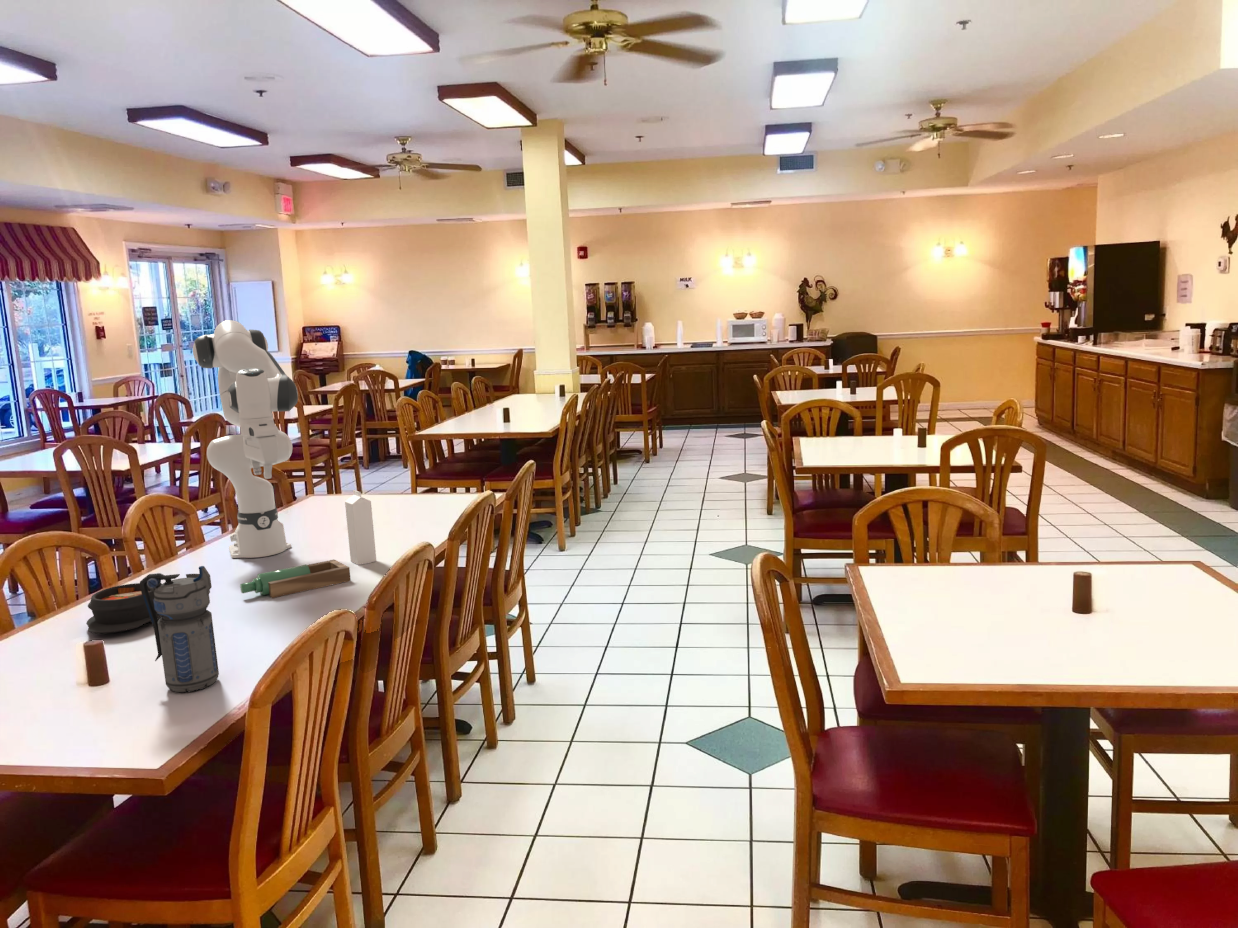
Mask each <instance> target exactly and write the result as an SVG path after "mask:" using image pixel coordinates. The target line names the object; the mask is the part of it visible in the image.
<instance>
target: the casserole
mask: <svg viewBox="0 0 1238 928" xmlns="http://www.w3.org/2000/svg"><path fill="white" fill-rule="evenodd" d="M148 592H149V595H150V598H151V601H152V604H153V607H154V601H153V600H154V593H153V592H152V591H151V590H150V589H149V588H148ZM87 607H88V609H89V610H90V611H91V612H92V616H91V617H90V618H89V619H88V620H86V625H87V627H88V630H87V631H88V632H89V633H92V634H108V633H109V634H111V633H119V632H125V631H130V630H135V629H137V628H139V627H142V626H143V624H144V625H146V624H149V623H152V622H151V619H150V616H149V613H148V610H147V607H146V605H145V602H144V599H143V596H142V593H141V587H140V582H136V583H126V584H122V585H121V584H120V585H115V586H112V587H109V588H108V587H107V588H105V589H102V590H98V592H96V593H94V594H92V596H91V598H90V601H89V603H88V604H87ZM154 610H155V608H154ZM155 613H156V616H157V619H160V618H161V616H160V615H159V614H158V613H157V612H156V610H155Z"/></svg>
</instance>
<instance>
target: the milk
mask: <svg viewBox="0 0 1238 928" xmlns="http://www.w3.org/2000/svg"><path fill="white" fill-rule="evenodd" d="M352 492H353V495H351V496H350V497H349V498H347V499H345V501H344V505H345V514H346V515H345V516H346V518H345V519H346V524H347V525H346V528H347V536H348V537H347V539H348V545H349V546H348V547H349V548H348V549H349V556H350V562H351V563H353V564H355V565H358V566H360V565H364V564H370V563H374V562H377V553H376V552H377V551H376V542H375V540H376V539H375V530H374V519H373V511H372V510H373V508H372V501H371V500H369V499H368V498H367V499H366V498H364V497H362V492H361V491H358V490H355V489H353V491H352Z"/></svg>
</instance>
